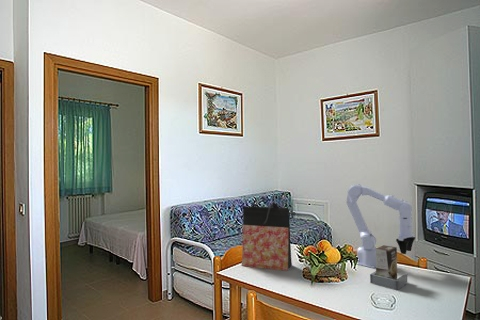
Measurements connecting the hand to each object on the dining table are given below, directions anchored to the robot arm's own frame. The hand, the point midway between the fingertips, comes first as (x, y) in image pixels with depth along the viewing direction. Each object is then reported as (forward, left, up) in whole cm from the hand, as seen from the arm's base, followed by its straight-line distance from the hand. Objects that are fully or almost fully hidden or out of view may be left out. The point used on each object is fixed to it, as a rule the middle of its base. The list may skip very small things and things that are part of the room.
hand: (406, 252), depth 158 cm
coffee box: (-1, -24, -9) cm, 25 cm away
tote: (0, -23, -9) cm, 25 cm away
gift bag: (-55, -43, -9) cm, 71 cm away
